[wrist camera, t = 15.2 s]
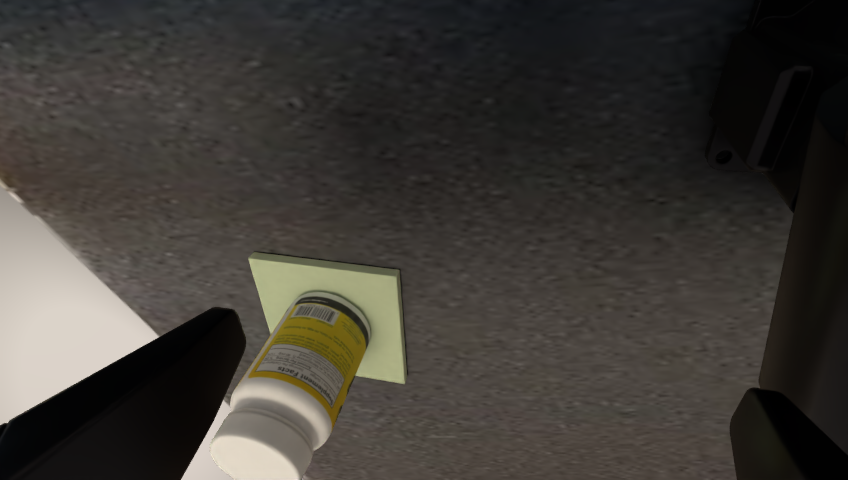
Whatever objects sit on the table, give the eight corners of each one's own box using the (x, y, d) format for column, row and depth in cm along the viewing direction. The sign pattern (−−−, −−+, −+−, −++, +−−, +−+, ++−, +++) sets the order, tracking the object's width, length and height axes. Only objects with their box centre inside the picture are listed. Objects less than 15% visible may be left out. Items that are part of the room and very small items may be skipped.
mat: (399, 269, 24) (396, 276, 23) (407, 376, 28) (404, 384, 28) (253, 251, 25) (247, 258, 25) (283, 355, 30) (278, 362, 29)
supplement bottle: (333, 362, 28) (262, 506, 21) (274, 309, 27) (178, 446, 20) (390, 335, 26) (330, 488, 19) (329, 275, 24) (240, 418, 17)
